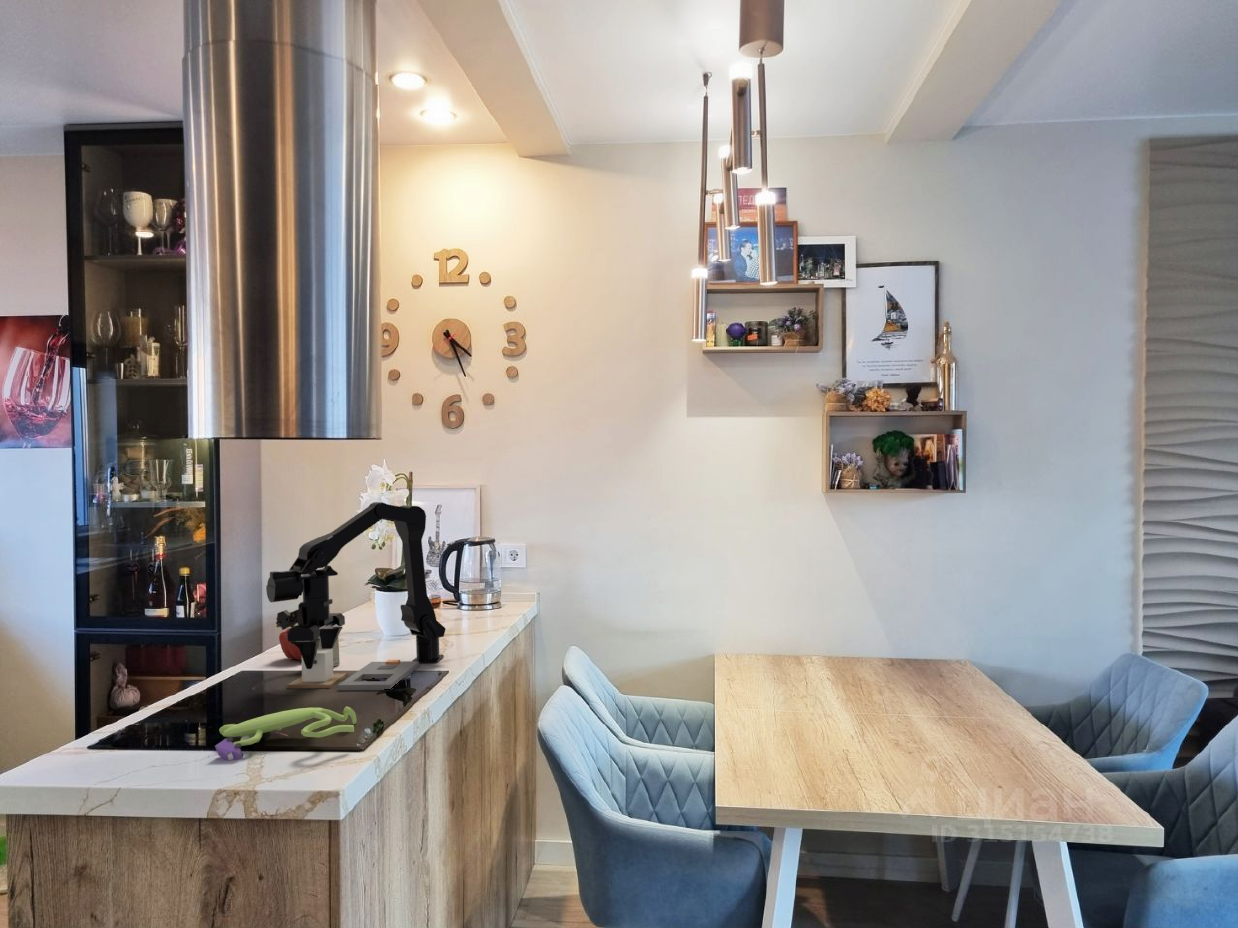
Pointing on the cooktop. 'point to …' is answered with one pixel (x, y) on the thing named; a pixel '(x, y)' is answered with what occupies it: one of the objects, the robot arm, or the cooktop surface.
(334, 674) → the walnut coaster
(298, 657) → the vegetable
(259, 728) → the figurine
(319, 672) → the block
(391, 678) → the grey slotted tray
